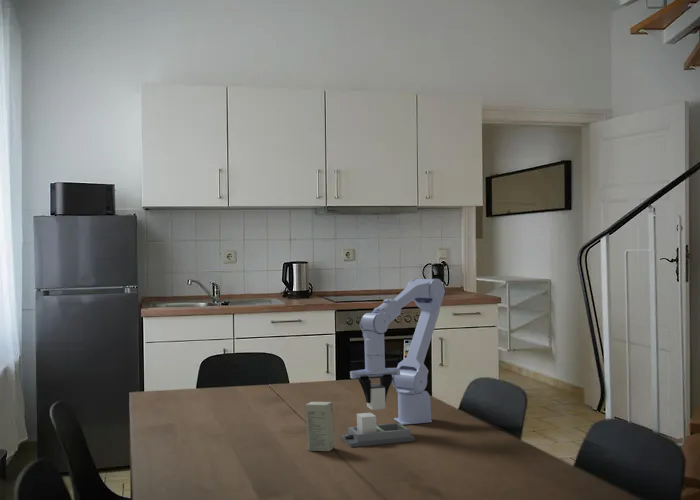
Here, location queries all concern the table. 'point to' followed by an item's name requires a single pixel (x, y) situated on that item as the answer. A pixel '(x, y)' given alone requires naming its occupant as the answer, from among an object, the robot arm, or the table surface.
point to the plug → (377, 397)
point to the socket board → (375, 432)
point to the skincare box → (319, 426)
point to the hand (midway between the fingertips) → (375, 401)
